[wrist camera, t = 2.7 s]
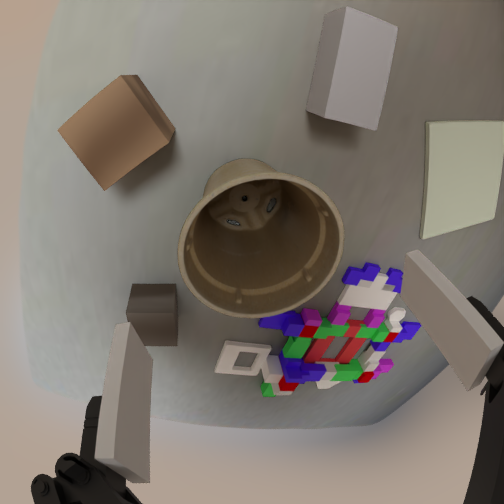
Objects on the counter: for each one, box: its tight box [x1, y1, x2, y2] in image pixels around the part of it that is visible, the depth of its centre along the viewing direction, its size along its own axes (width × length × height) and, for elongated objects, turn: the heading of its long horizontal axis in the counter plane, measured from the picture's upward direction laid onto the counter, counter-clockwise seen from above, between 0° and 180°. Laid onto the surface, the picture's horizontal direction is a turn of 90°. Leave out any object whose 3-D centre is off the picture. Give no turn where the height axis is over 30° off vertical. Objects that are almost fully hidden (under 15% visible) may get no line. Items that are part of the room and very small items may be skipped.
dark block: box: [126, 284, 178, 346], centre depth 27 cm, size 4×4×4 cm
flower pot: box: [178, 159, 344, 318], centre depth 21 cm, size 9×9×9 cm
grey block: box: [306, 6, 398, 131], centre depth 18 cm, size 4×8×4 cm, turn 170°
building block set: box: [214, 262, 421, 397], centre depth 34 cm, size 25×20×4 cm
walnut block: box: [58, 75, 175, 191], centre depth 18 cm, size 5×5×5 cm
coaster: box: [419, 120, 504, 240], centre depth 26 cm, size 12×12×1 cm
